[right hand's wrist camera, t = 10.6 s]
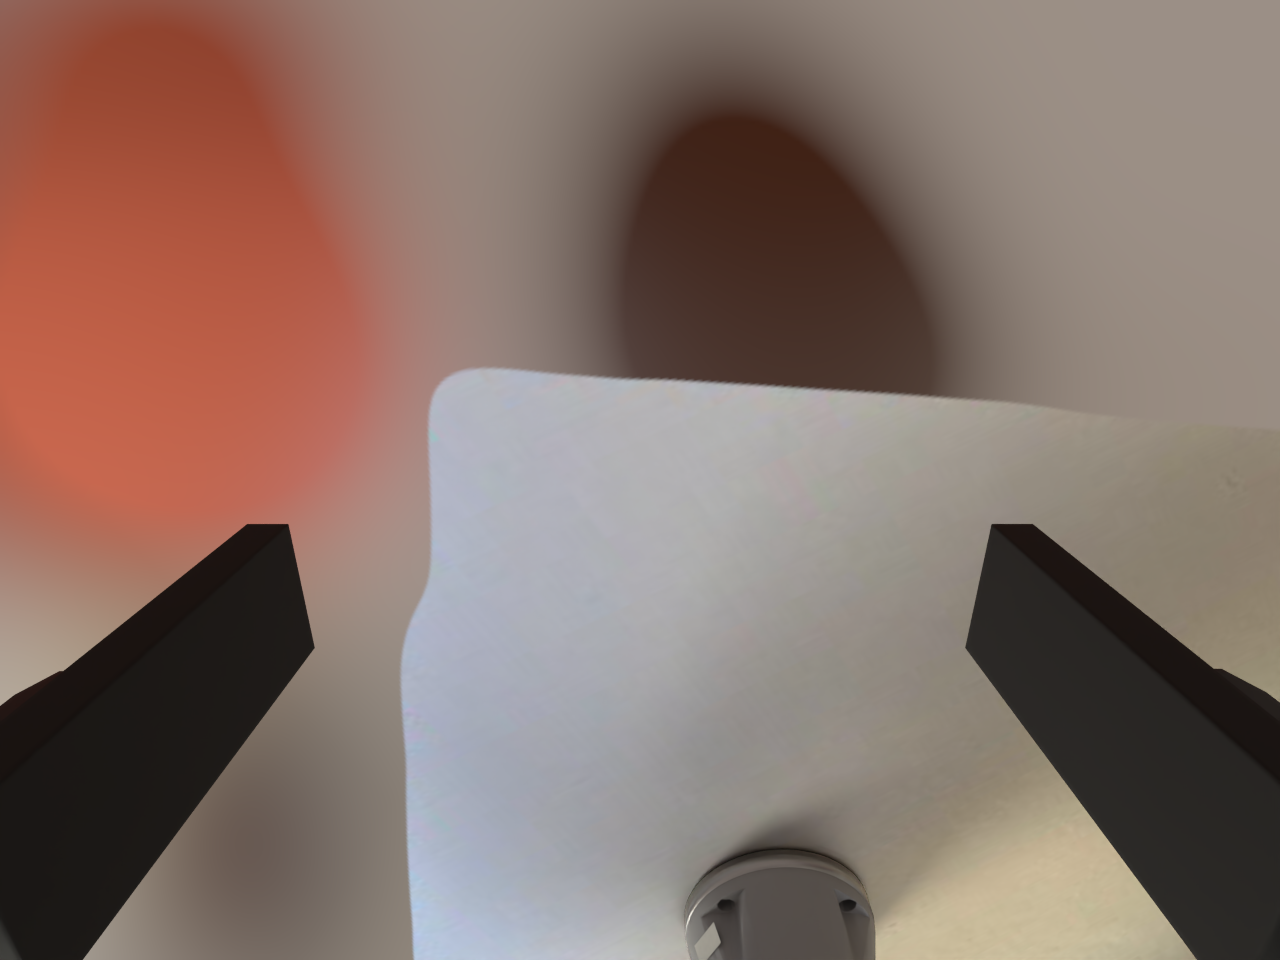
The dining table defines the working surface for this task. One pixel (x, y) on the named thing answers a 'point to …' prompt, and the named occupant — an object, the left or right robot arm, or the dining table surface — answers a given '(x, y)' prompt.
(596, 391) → the dining table surface
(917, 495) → the dining table surface
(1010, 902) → the dining table surface
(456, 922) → the dining table surface
